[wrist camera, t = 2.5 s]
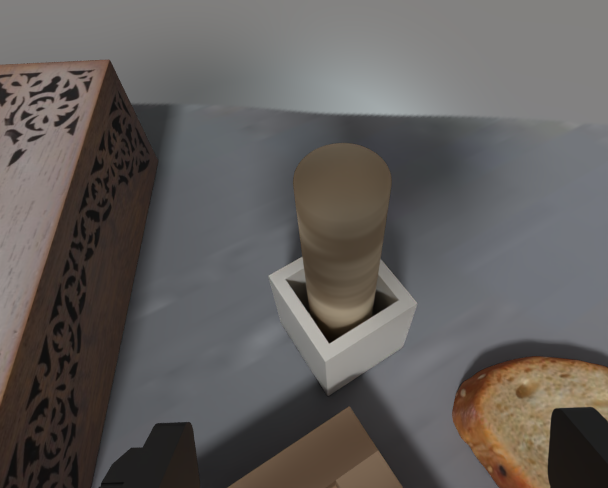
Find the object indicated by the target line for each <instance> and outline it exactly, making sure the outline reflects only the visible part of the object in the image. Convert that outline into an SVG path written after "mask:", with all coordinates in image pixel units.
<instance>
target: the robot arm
mask: <svg viewBox="0 0 608 488" xmlns="http://www.w3.org/2000/svg"><path fill="white" fill-rule="evenodd" d="M548 480H549V484H550V488H608V421H607V420H606V419H605V418H604V417H603V416H602V415H601V414H600V413H599V412H598V411H597V410H596V409H595V408H593V407H573V408H556V409H554V410H553V412H552V415H551V424H550V439H549V453H548ZM99 488H200V479H199V471H198V463H197V456H196V448H195V441H194V433H193V428H192V425H191V423H190V422H178V423H157V424H156V425H155V426H154V427H153V429H152V431H151V433H150V435H149V437H148V438H147V440H146V442H145V444H144V446H143V448H130V449H129V450H128V451H127V452H126V453H125V454H124V455H122V456H121V457H120V458H119V459H118V460H117V461H116V462H114V463H113V464H112V466H111V467H110V469H109V471H108V472H107V474H106V476H105V478H104V479H103V481H102V483H101V487H99Z"/></svg>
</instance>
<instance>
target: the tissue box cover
mask: <svg viewBox="0 0 608 488" xmlns="http://www.w3.org/2000/svg"><path fill="white" fill-rule="evenodd" d="M157 165H158V159H157V157H156V155H155V153H154V151H153V149H152V147H151V145H150V143H149V141H148V139H147V136H146V134H145V132H144V130H143V128H142V126H141V124H140V122H139V120H138V118H137V116H136V113H135V111H134V109H133V107H132V105H131V103H130V101H129V99H128V97H127V95H126V93H125V91H124V88H123V86H122V84H121V82H120V80H119V78H118V76H117V74H116V72H115V70H114V68H113V65H112V63H111V61H110V60H90V61H71V62H70V61H69V62H49V63H29V64H28V63H27V64H6V65H0V488H91V485H92V480H93V475H94V470H95V465H96V461H97V456H98V451H99V446H100V441H101V436H102V432H103V427H104V422H105V417H106V412H107V407H108V402H109V398H110V393H111V388H112V383H113V378H114V373H115V368H116V364H117V359H118V354H119V349H120V344H121V339H122V335H123V330H124V325H125V320H126V315H127V310H128V305H129V301H130V296H131V291H132V286H133V281H134V276H135V272H136V267H137V262H138V257H139V252H140V247H141V242H142V238H143V233H144V228H145V223H146V218H147V213H148V208H149V204H150V199H151V194H152V189H153V184H154V179H155V175H156V170H157Z"/></svg>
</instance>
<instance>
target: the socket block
mask: <svg viewBox="0 0 608 488" xmlns="http://www.w3.org/2000/svg"><path fill="white" fill-rule="evenodd" d="M227 488H403V487H402V486H401V484H400V483H399V481H398V479H397V478H396V476H395V475H394V473H393V472H392V470H391V469H390V467H389V466H388V464H387V463H386V461H385V460H384V458H383V457H382V455H381V454H380V452H379V451H378V449H377V447H376V446H375V444H374V443H373V441H372V440H371V438H370V437H369V435H368V434H367V432H366V431H365V429H364V428H363V426H362V425H361V423H360V422H359V420H358V418H357V417H356V415H355V414H354V412H353V411H352V409H351V408H350V406H349V407H347V408H346V409H344V410H343V411H341V412H340V413H338V414H337V415H335V416H334V417H332V418H331V419H329V420H328V421H326V422H325V423H323V424H322V425H320V426H319V427H317V428H316V429H314V430H313V431H311V432H310V433H308V434H307V435H305V436H304V437H302V438H301V439H299V440H298V441H296V442H295V443H293V444H292V445H290V446H289V447H287V448H286V449H284V450H283V451H281V452H280V453H278V454H277V455H275V456H274V457H272V458H271V459H269V460H268V461H266V462H265V463H263V464H262V465H260V466H259V467H257V468H256V469H254V470H253V471H251V472H250V473H248V474H247V475H245V476H244V477H242V478H241V479H239V480H238V481H236V482H235V483H233V484H232V485H230V486H229V487H227Z"/></svg>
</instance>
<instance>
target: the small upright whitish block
mask: <svg viewBox="0 0 608 488" xmlns="http://www.w3.org/2000/svg"><path fill="white" fill-rule="evenodd" d="M269 280H270V284H271V288H272V291H273V295H274V299H275V303H276V306H277V310H278V314H279V318H280V321H281V324H282V325H283V327H284V329H285V330H286V332H287V333H288V335H289V336H290V338H291V339H292V341H293V343H294V344H295V346H296V347H297V349H298V350H299V352H300V354H301V355H302V357H303V358H304V360H305V361H306V363H307V365H308V366H309V368H310V369H311V371H312V372H313V374H314V375H315V377H316V379H317V380H318V382H319V383H320V385H321V386H322V388H323V390H324V391H325V393H326V394H327V396H329V395H331V394H332V393H334V392H335V391H337V390H339V389H340V388H342V387H343V386H345V385H346V384H348V383H349V382H351V381H352V380H354V379H355V378H357V377H358V376H360V375H361V374H363V373H364V372H366V371H368V370H369V369H371V368H372V367H374V366H375V365H377V364H378V363H380V362H381V361H383V360H384V359H386V358H387V357H389V356H390V355H392V354H394V353H395V352H397V351H398V350H400V349H401V348H403V345H404V342H405V339H406V336H407V333H408V330H409V327H410V325H411V322H412V319H413V316H414V313H415V310H416V307H417V304H418V303H417V302H416V301H415V300H414V299H413V297H412V296H411V295H410V294H409V293H408V291H407V290H406V289H405V288H404V286H403V285H402V284H401V283H400V282H399V280H398V279H397V278H396V277H395V276H394V274H393V273H392V272H391V271H390V269H389V268H388V267H387V266H386V265H385V263H384V262H383V261H382V260H381V258H380V265H379V272H378V279H377V285H376V292H375V299H374V305H373V312H372V317H371V318H370V319H368V320H367V321H365V322H363V323H362V324H360V325H359V326H357V327H355V328H354V329H352V330H351V331H349V332H347V333H346V334H344V335H343V336H341V337H339V338H338V339H336V340H335V341H333V342H331V343H330V344H329V343H328V341H327V340H326V338H325V337H324V335H323V334H322V332H321V331H320V329H319V328H318V327H317V325H316V324H315V322H314V321H313V319H312V318H311V316H310V311H309V304H308V296H307V288H306V280H305V273H304V265H303V257H301V258H299V259H297V260H296V261H294V262H292V263H290V264H289V265H287V266H285V267H283V268H281V269H280V270H278V271H276V272H274V273H273V274H271V275H269Z"/></svg>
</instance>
